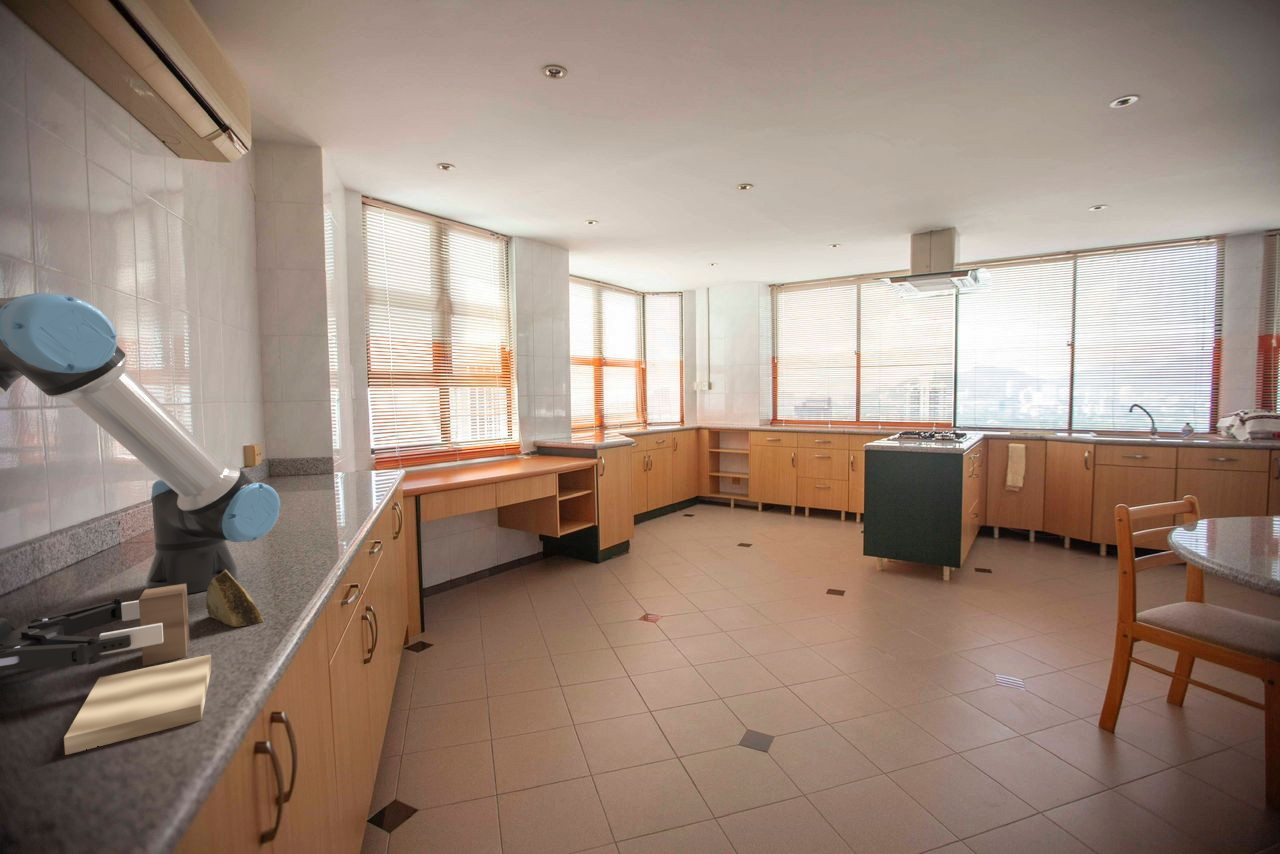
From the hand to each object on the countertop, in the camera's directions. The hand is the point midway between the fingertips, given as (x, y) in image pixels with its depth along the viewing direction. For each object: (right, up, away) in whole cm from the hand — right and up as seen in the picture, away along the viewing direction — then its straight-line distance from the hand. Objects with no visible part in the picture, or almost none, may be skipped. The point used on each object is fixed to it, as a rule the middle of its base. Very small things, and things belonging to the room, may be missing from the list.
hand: (169, 617), depth 87 cm
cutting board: (+9, -7, -14) cm, 18 cm away
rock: (0, -5, +14) cm, 15 cm away
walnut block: (-1, -6, 0) cm, 6 cm away
